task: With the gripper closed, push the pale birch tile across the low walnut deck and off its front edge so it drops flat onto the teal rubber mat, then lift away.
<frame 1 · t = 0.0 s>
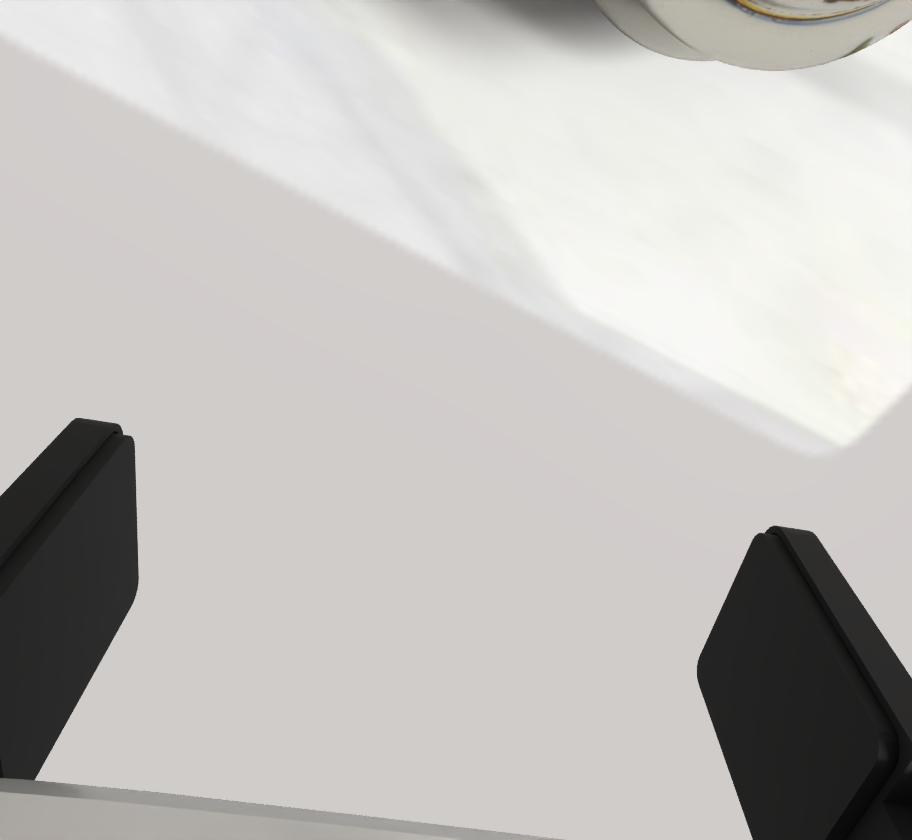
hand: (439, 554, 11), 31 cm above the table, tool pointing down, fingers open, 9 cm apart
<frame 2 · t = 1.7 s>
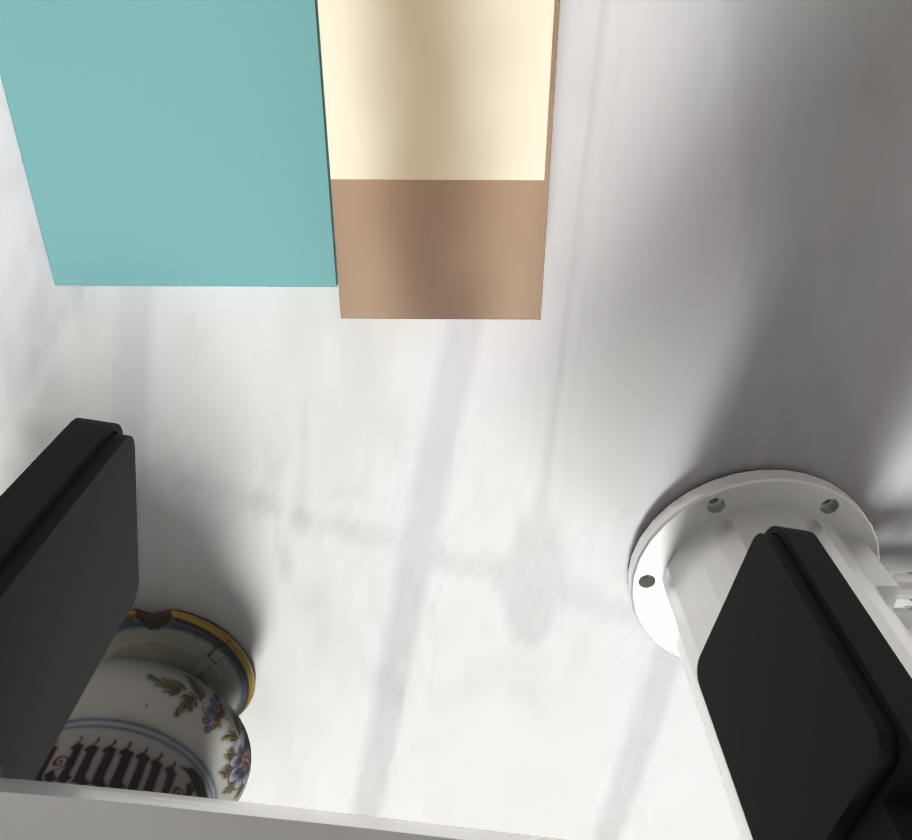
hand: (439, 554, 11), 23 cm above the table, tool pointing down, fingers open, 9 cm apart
teal mat: (171, 107, 29), on the table
apothecary jar: (170, 667, 44), on the table
birch tile: (439, 72, 26), point 3 cm above the table, touching walnut deck
walnut deck: (441, 66, 29), on the table
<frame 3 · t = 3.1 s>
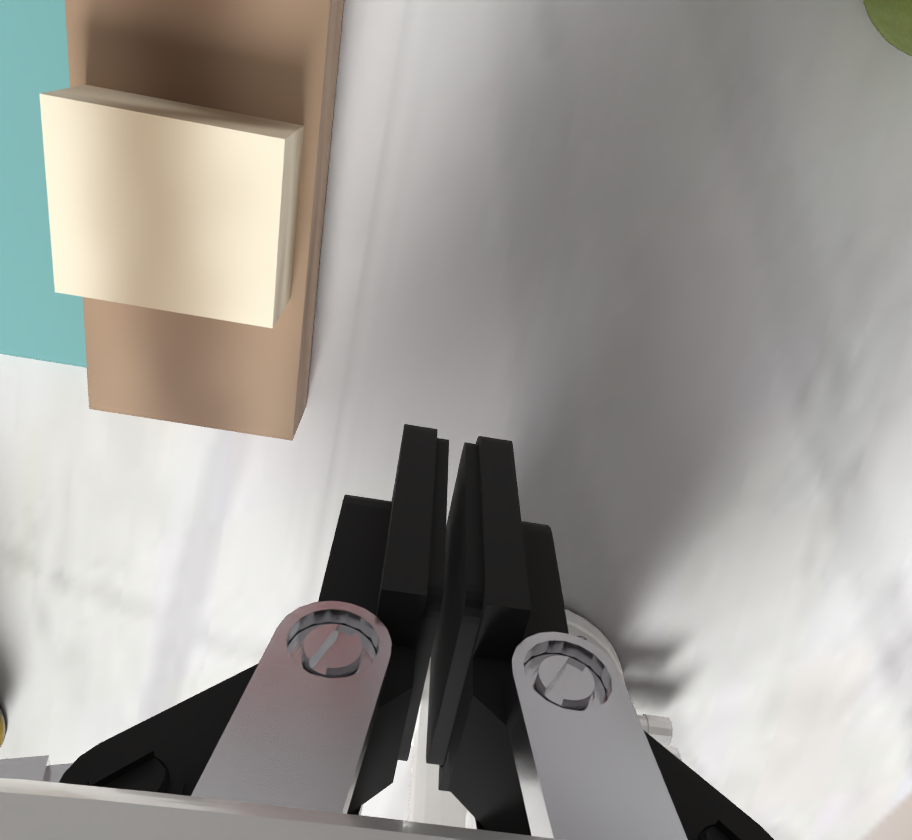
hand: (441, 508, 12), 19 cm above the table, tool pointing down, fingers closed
birch tile: (194, 198, 26), point 3 cm above the table, touching walnut deck
walnut deck: (219, 180, 29), on the table
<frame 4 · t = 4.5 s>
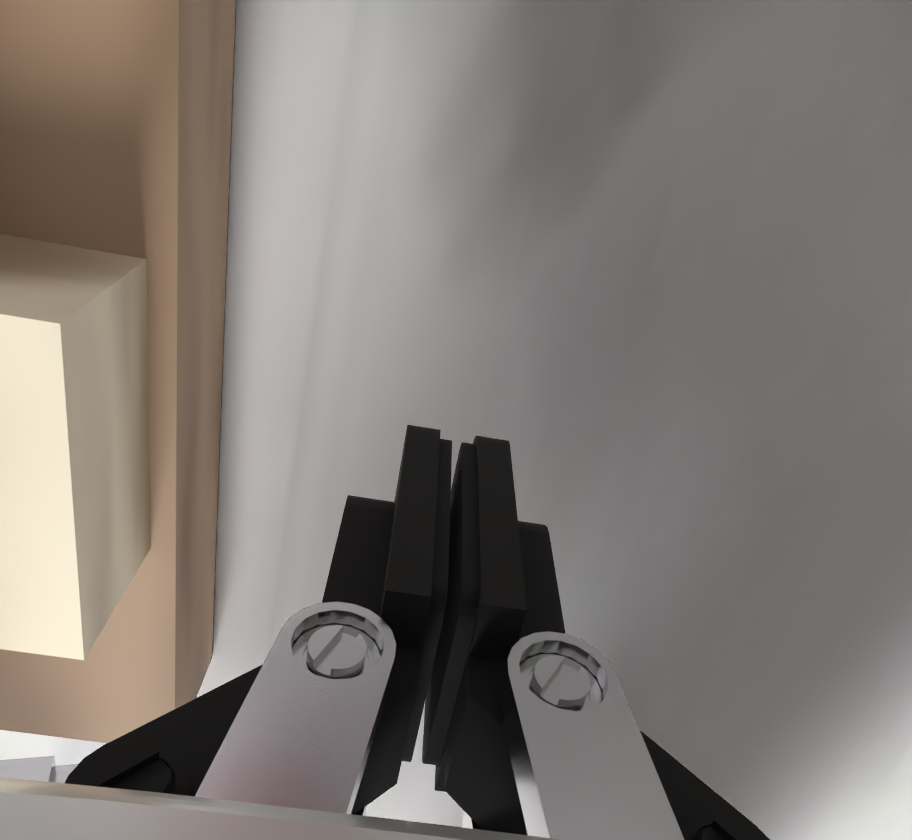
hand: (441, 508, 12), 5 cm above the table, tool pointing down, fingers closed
walnut deck: (34, 327, 16), on the table
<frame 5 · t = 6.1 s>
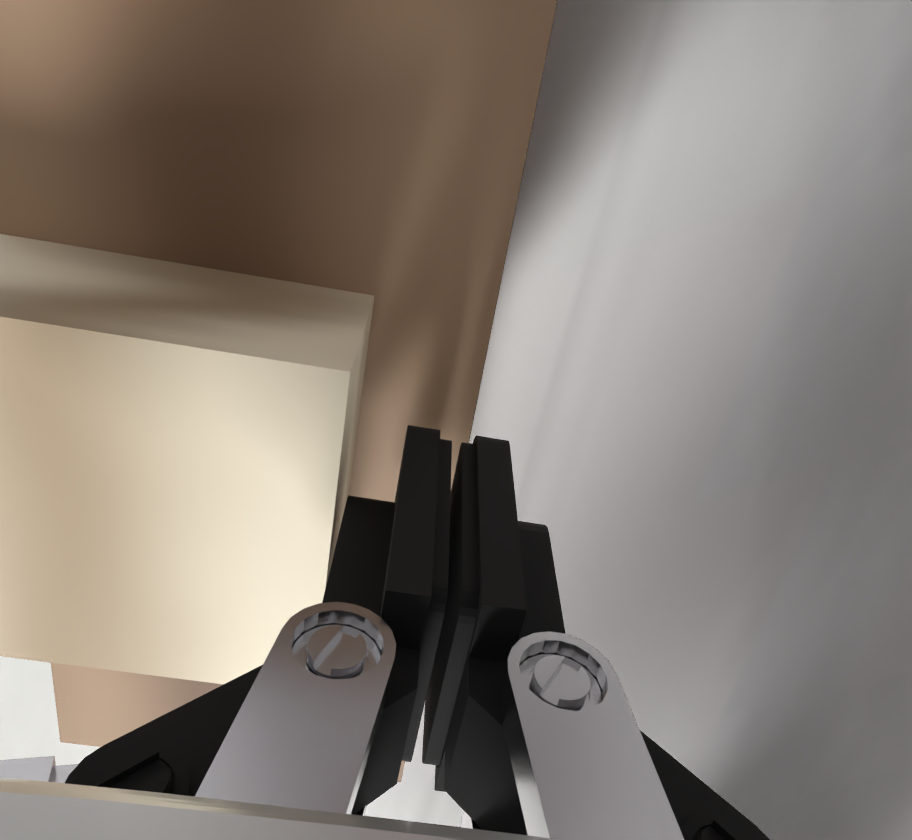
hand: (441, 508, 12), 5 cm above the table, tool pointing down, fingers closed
birch tile: (160, 421, 14), point 3 cm above the table, touching gripper
walnut deck: (281, 367, 16), on the table
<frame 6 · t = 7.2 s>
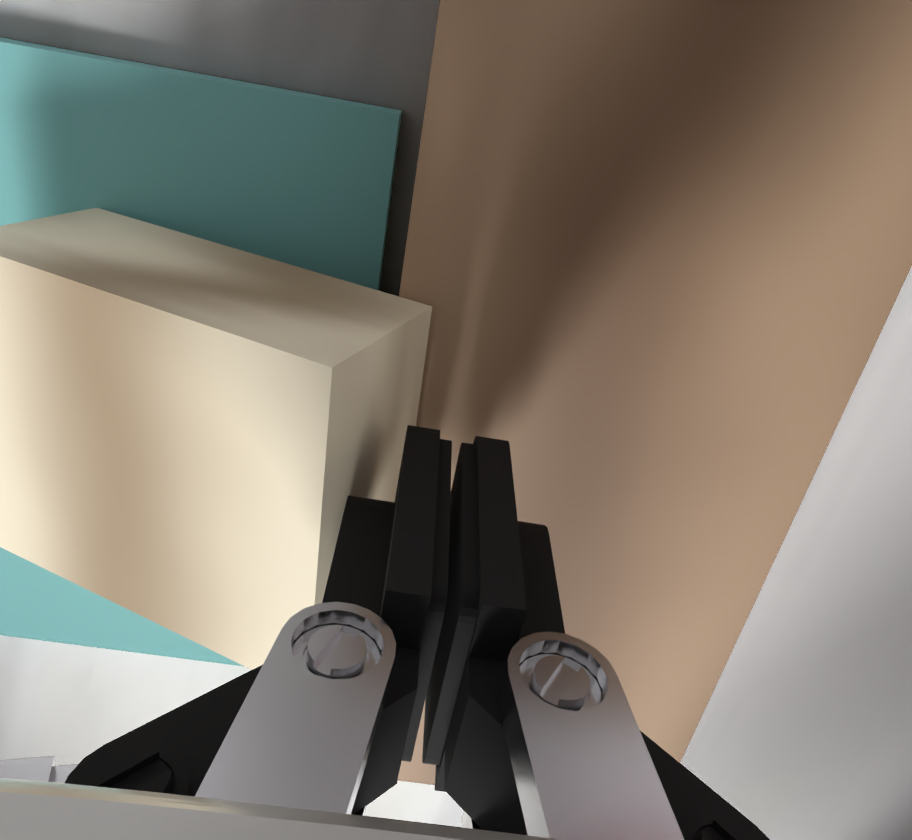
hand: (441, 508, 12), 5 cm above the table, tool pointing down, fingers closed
teal mat: (90, 397, 17), on the table
birch tile: (248, 405, 15), point 2 cm above the table, tilted 23°, touching gripper, teal mat
walnut deck: (570, 410, 17), on the table
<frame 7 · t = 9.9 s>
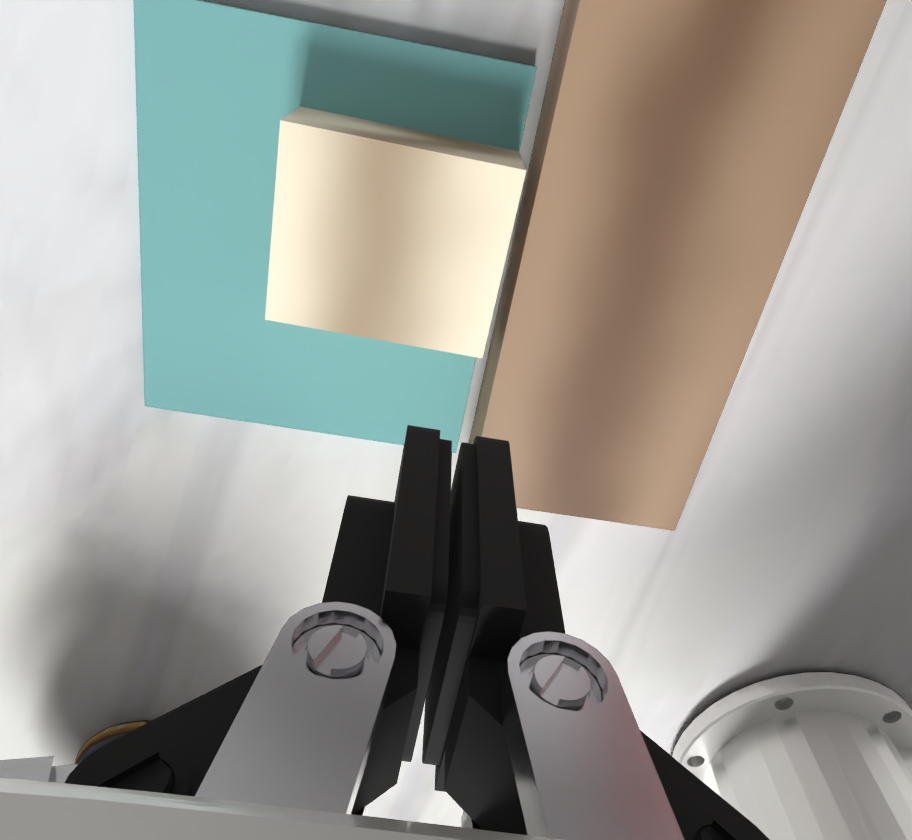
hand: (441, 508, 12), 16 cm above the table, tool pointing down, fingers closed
teal mat: (321, 250, 26), on the table
apothecary jar: (169, 777, 41), on the table
birch tile: (396, 222, 25), point 1 cm above the table, touching teal mat
walnut deck: (624, 260, 27), on the table
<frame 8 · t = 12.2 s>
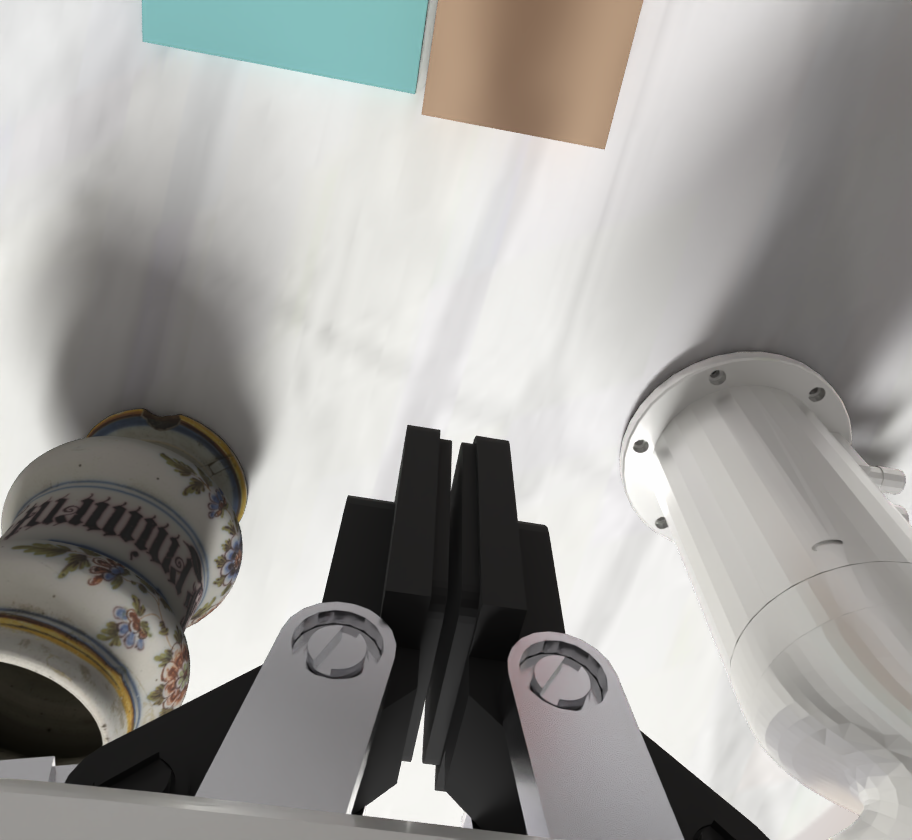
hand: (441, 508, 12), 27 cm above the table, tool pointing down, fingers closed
apothecary jar: (164, 479, 45), on the table
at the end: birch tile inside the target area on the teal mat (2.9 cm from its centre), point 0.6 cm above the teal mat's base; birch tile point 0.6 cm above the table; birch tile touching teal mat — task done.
